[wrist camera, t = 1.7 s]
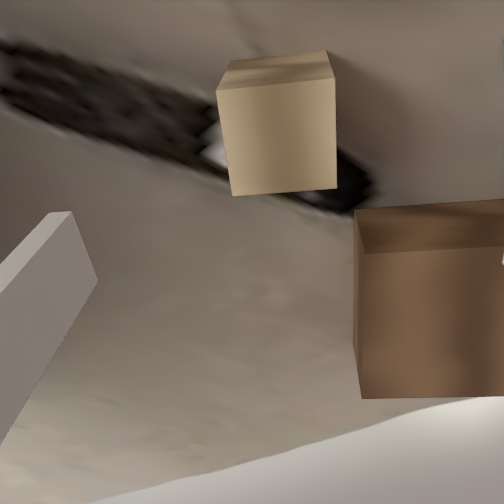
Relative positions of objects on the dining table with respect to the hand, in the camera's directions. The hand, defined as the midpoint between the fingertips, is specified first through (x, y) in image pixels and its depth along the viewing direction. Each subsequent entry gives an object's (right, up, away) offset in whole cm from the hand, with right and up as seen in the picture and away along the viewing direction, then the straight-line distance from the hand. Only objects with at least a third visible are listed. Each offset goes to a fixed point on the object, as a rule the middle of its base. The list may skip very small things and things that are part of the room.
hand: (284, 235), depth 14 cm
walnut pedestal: (+12, -2, +17) cm, 21 cm away
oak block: (+1, +8, +11) cm, 14 cm away
